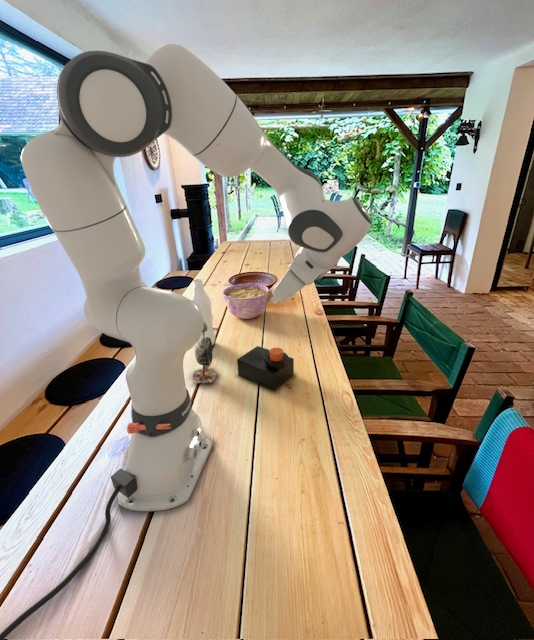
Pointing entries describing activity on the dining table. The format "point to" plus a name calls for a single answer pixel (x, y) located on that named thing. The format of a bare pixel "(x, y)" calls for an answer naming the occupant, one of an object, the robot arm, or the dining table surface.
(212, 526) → the dining table surface
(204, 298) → the water bottle
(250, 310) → the bowl of food
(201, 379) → the plant with pod
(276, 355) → the round orange button
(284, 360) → the black button box
